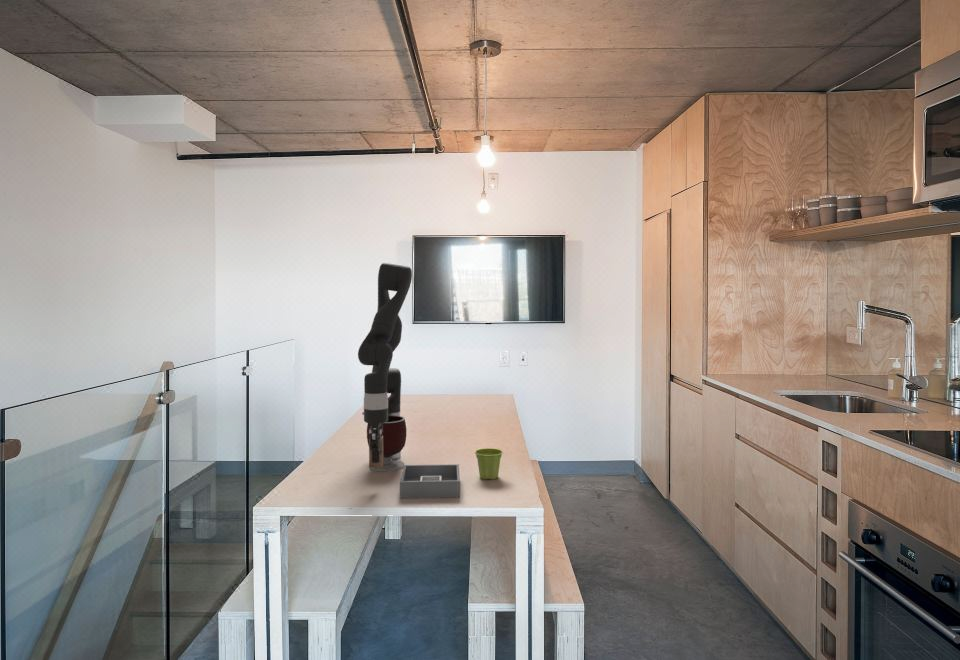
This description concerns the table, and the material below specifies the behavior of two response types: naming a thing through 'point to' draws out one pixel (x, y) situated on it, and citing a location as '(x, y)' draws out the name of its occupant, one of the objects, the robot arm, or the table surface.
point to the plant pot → (488, 462)
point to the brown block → (380, 463)
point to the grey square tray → (430, 481)
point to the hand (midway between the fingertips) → (376, 460)
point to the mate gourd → (391, 441)
